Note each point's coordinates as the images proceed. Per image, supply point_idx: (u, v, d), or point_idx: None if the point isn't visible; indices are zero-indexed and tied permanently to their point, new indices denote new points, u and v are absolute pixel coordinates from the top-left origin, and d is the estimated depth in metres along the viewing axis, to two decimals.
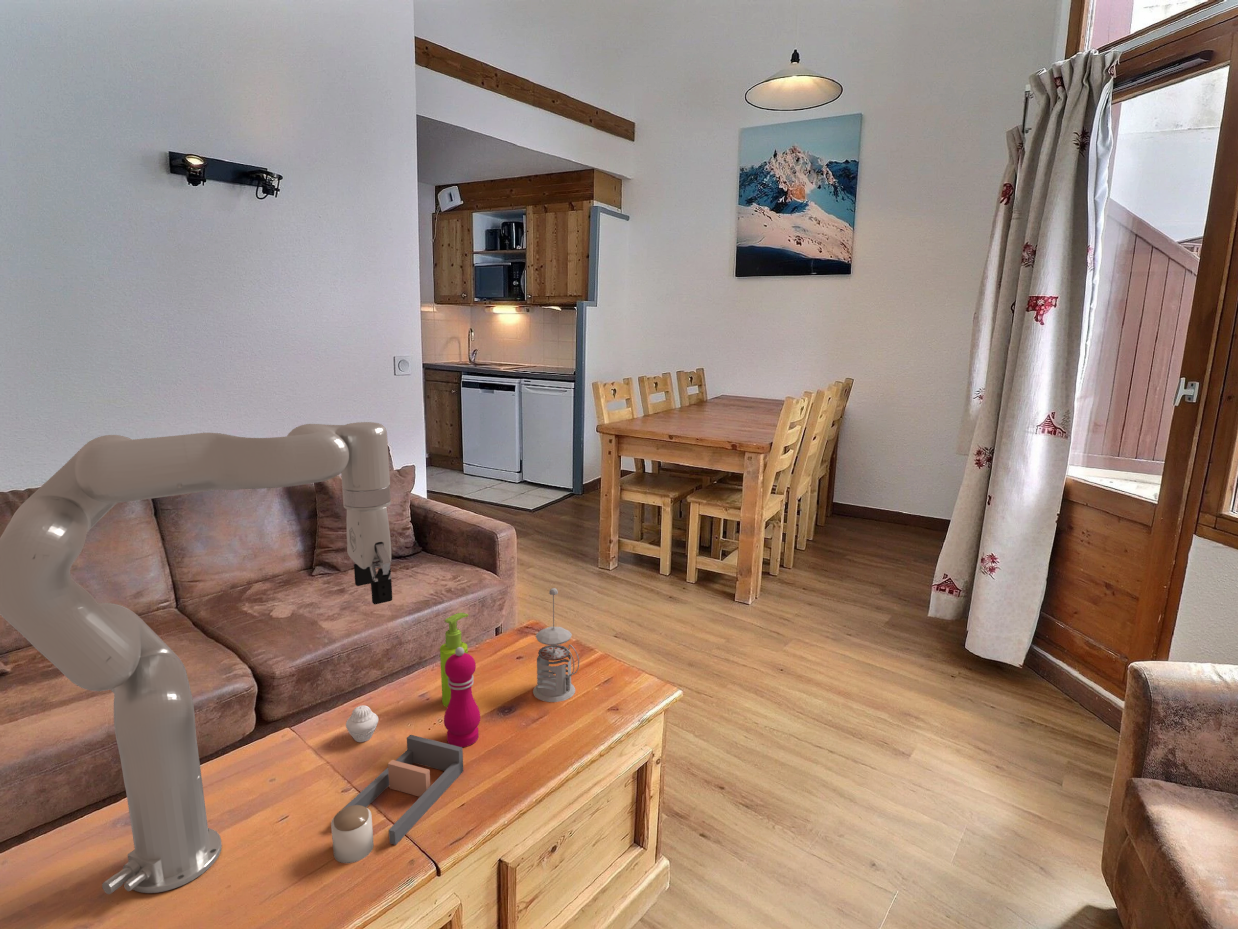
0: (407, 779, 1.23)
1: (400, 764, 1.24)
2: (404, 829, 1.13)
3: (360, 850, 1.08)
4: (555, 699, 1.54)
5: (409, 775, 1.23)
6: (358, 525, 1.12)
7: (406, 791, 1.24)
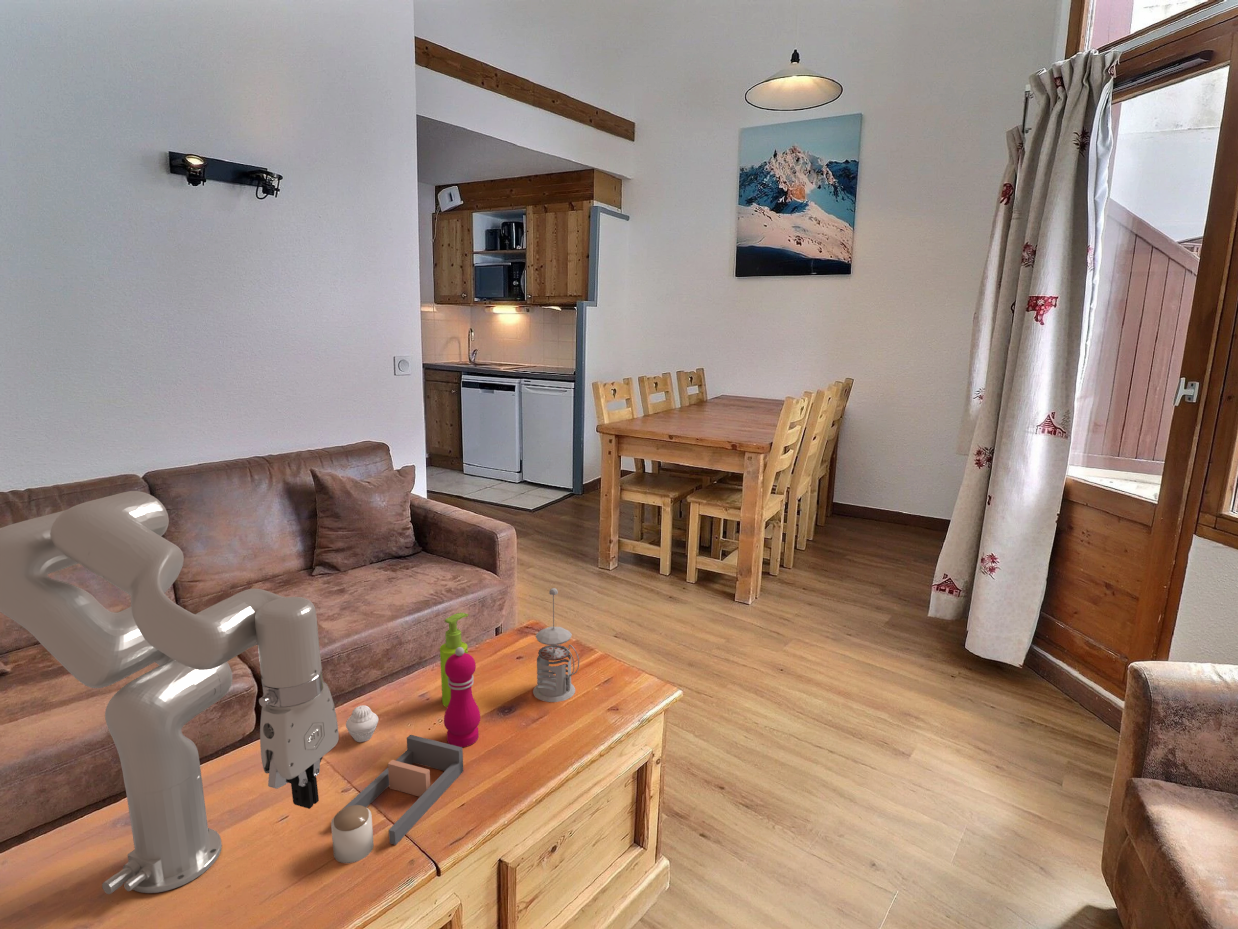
0: (407, 779, 1.23)
1: (400, 764, 1.24)
2: (404, 829, 1.13)
3: (360, 850, 1.08)
4: (555, 699, 1.54)
5: (409, 775, 1.23)
6: (328, 702, 0.98)
7: (406, 791, 1.24)
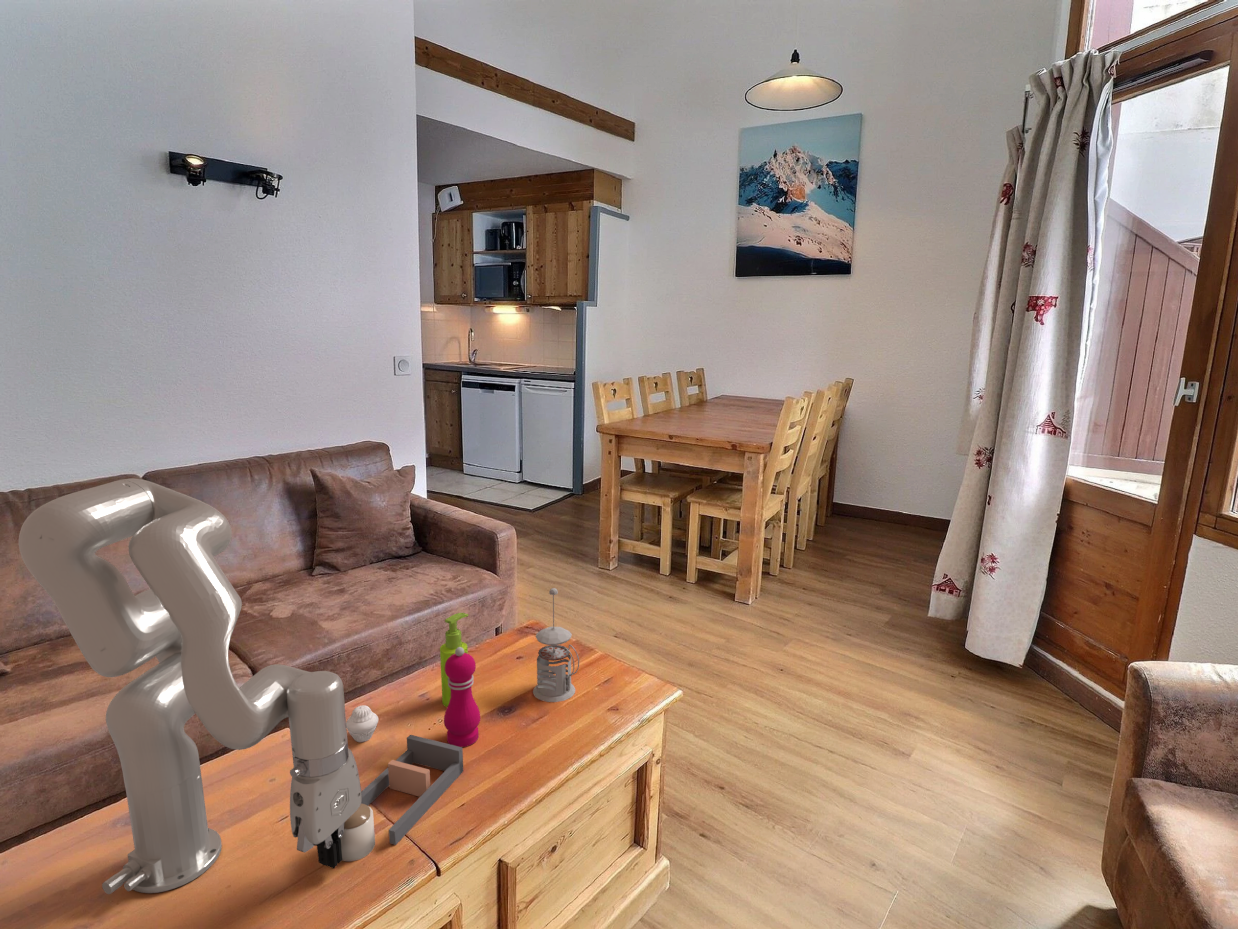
0: (407, 779, 1.23)
1: (400, 764, 1.24)
2: (404, 829, 1.13)
3: (362, 848, 1.08)
4: (555, 699, 1.54)
5: (409, 775, 1.23)
6: (352, 768, 1.05)
7: (406, 791, 1.24)
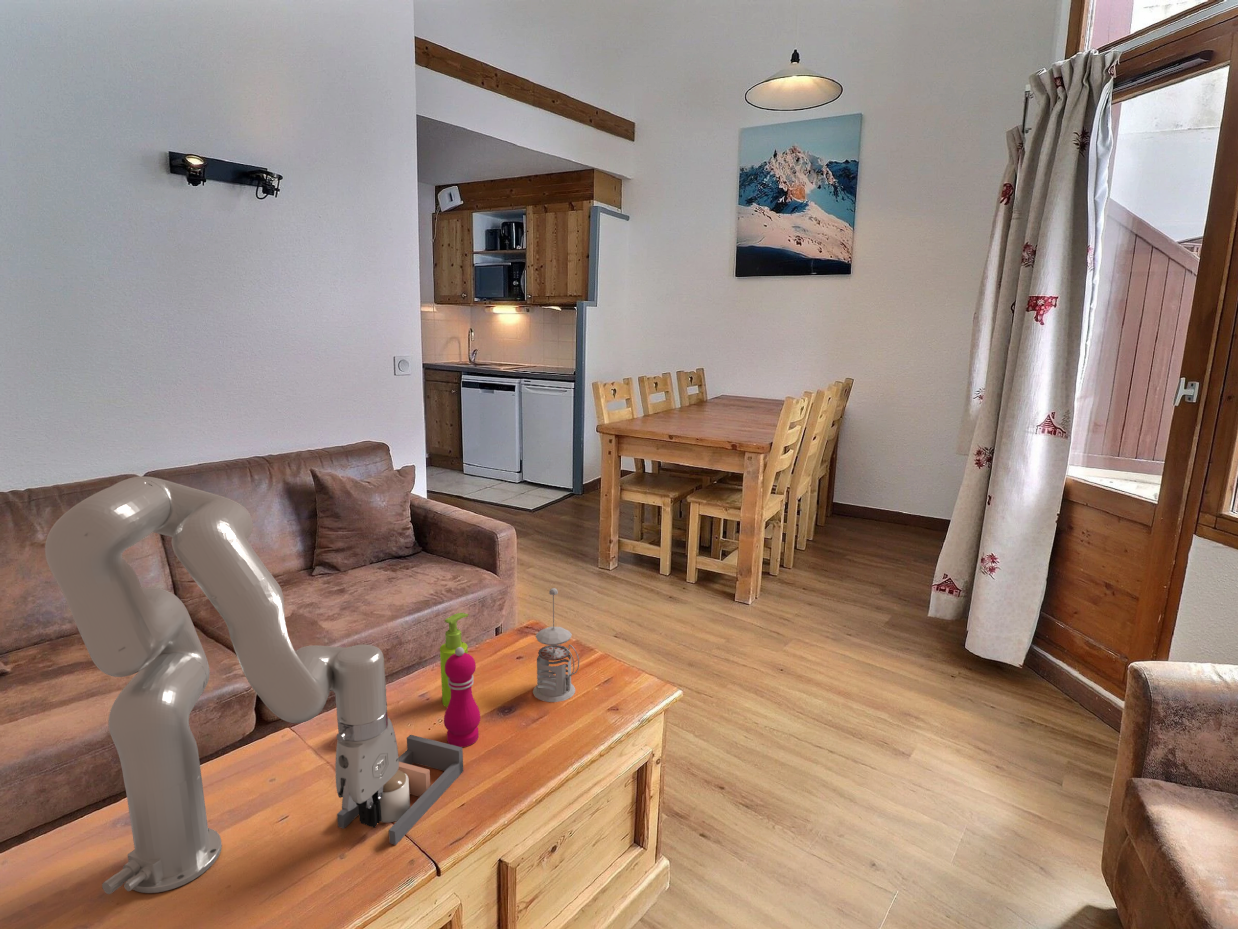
0: None
1: (400, 764, 1.24)
2: (404, 829, 1.13)
3: (399, 810, 1.17)
4: (555, 699, 1.54)
5: (409, 775, 1.23)
6: (391, 735, 1.13)
7: None
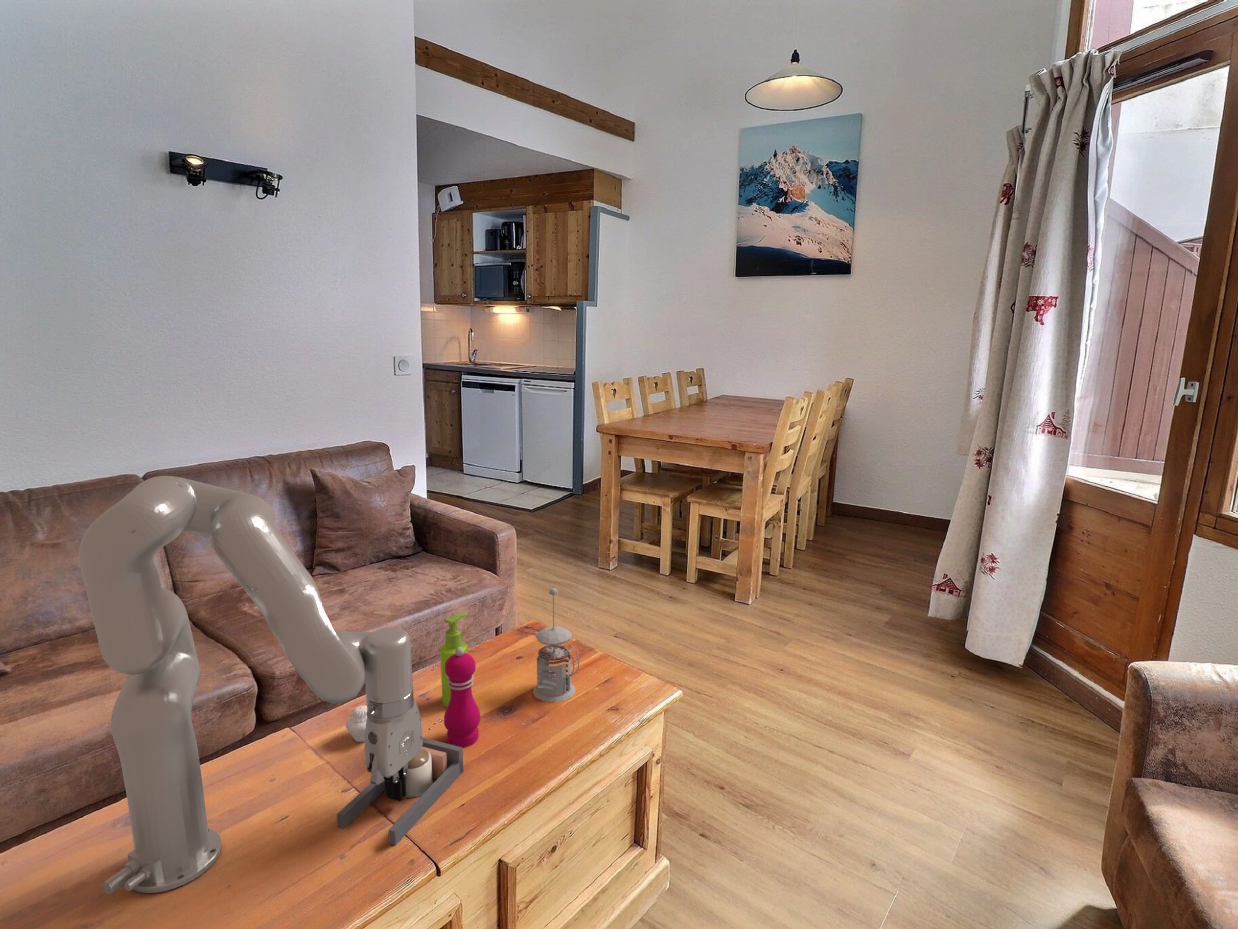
0: None
1: None
2: (404, 829, 1.13)
3: (422, 786, 1.23)
4: (555, 699, 1.54)
5: None
6: (416, 714, 1.19)
7: None
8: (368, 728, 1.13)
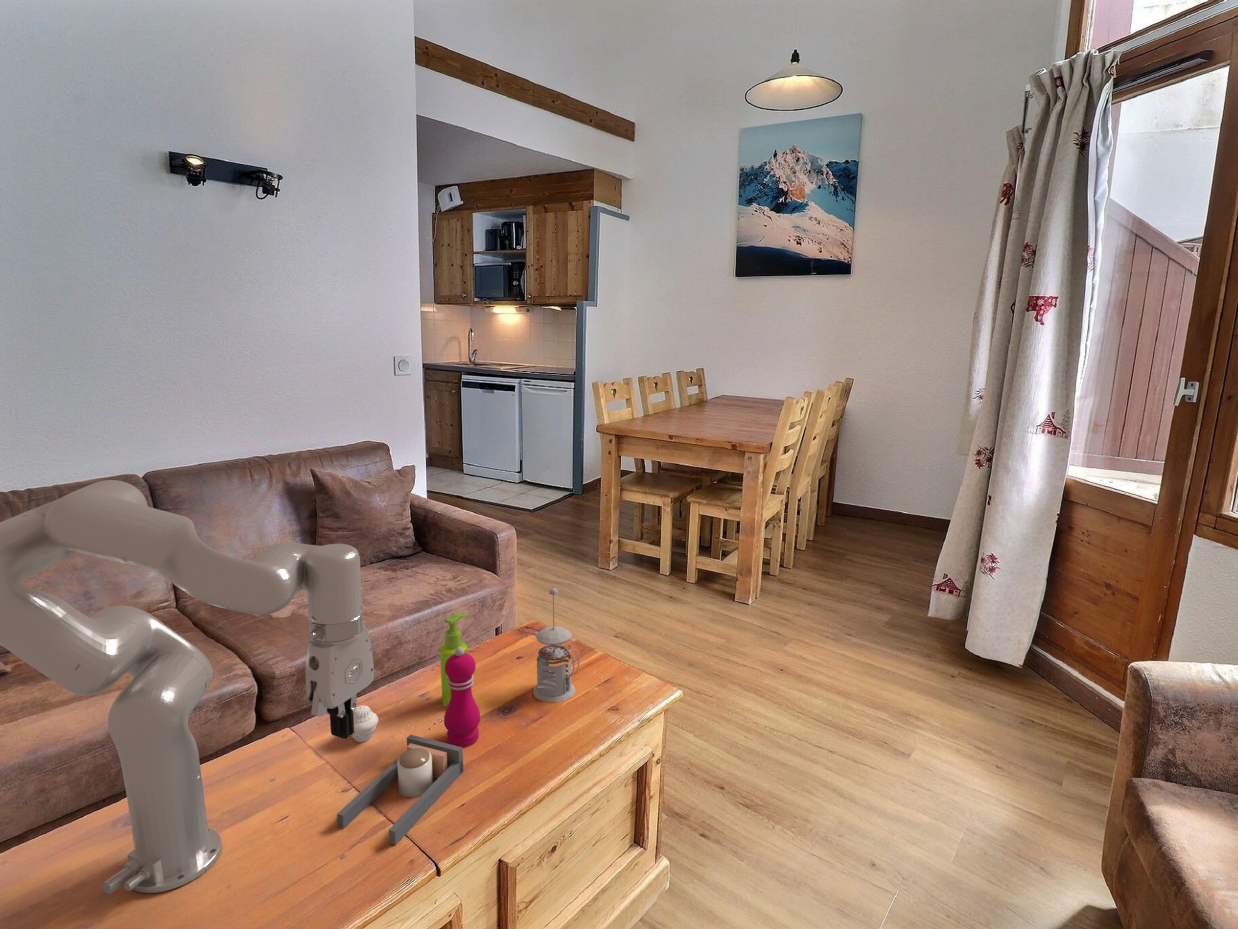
0: None
1: (418, 747, 1.29)
2: (404, 829, 1.13)
3: (423, 785, 1.23)
4: (555, 699, 1.54)
5: None
6: (366, 642, 1.08)
7: None
8: (309, 652, 1.01)
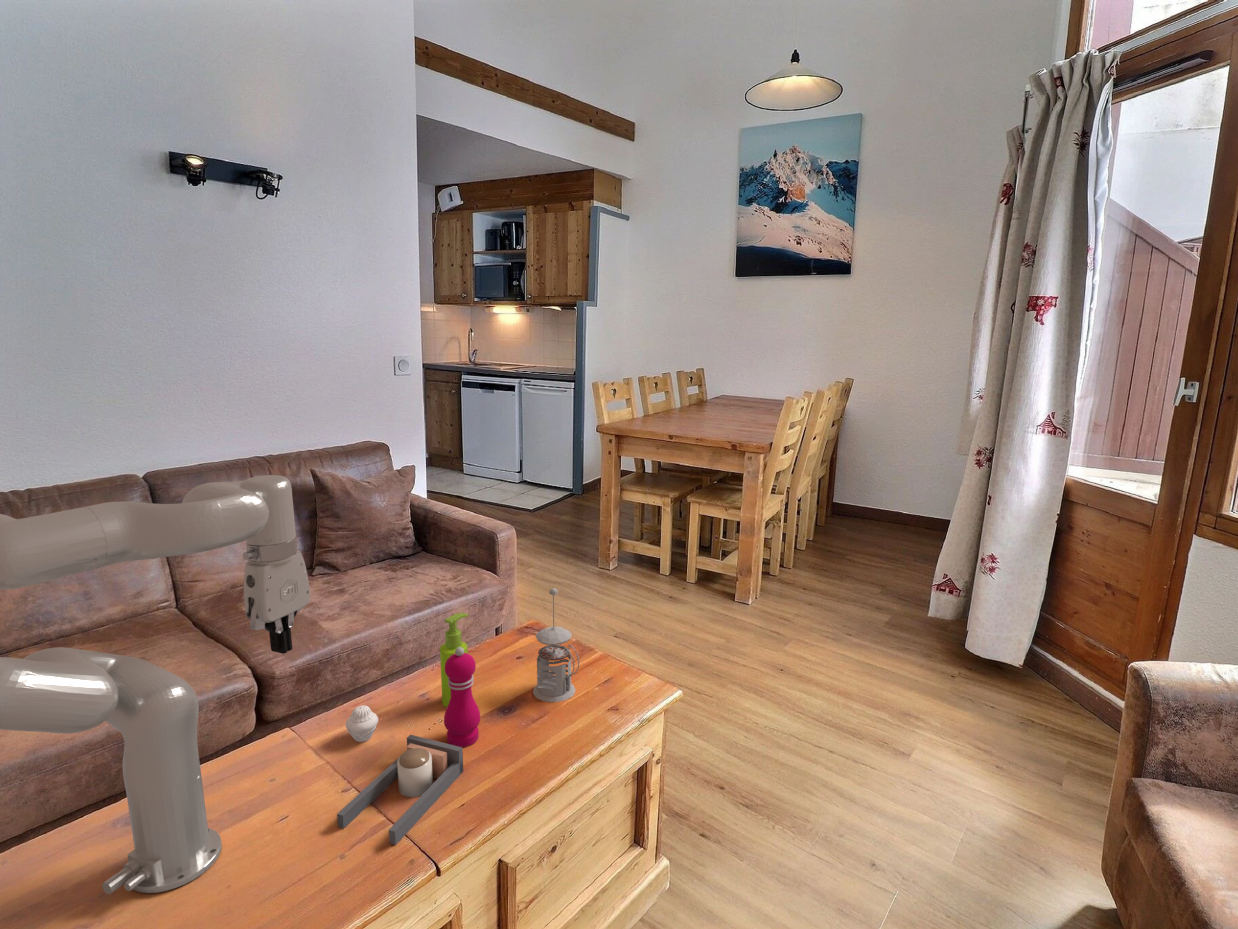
0: None
1: (418, 747, 1.29)
2: (404, 829, 1.13)
3: (423, 785, 1.23)
4: (555, 699, 1.54)
5: None
6: (301, 566, 1.18)
7: None
8: (246, 572, 1.12)
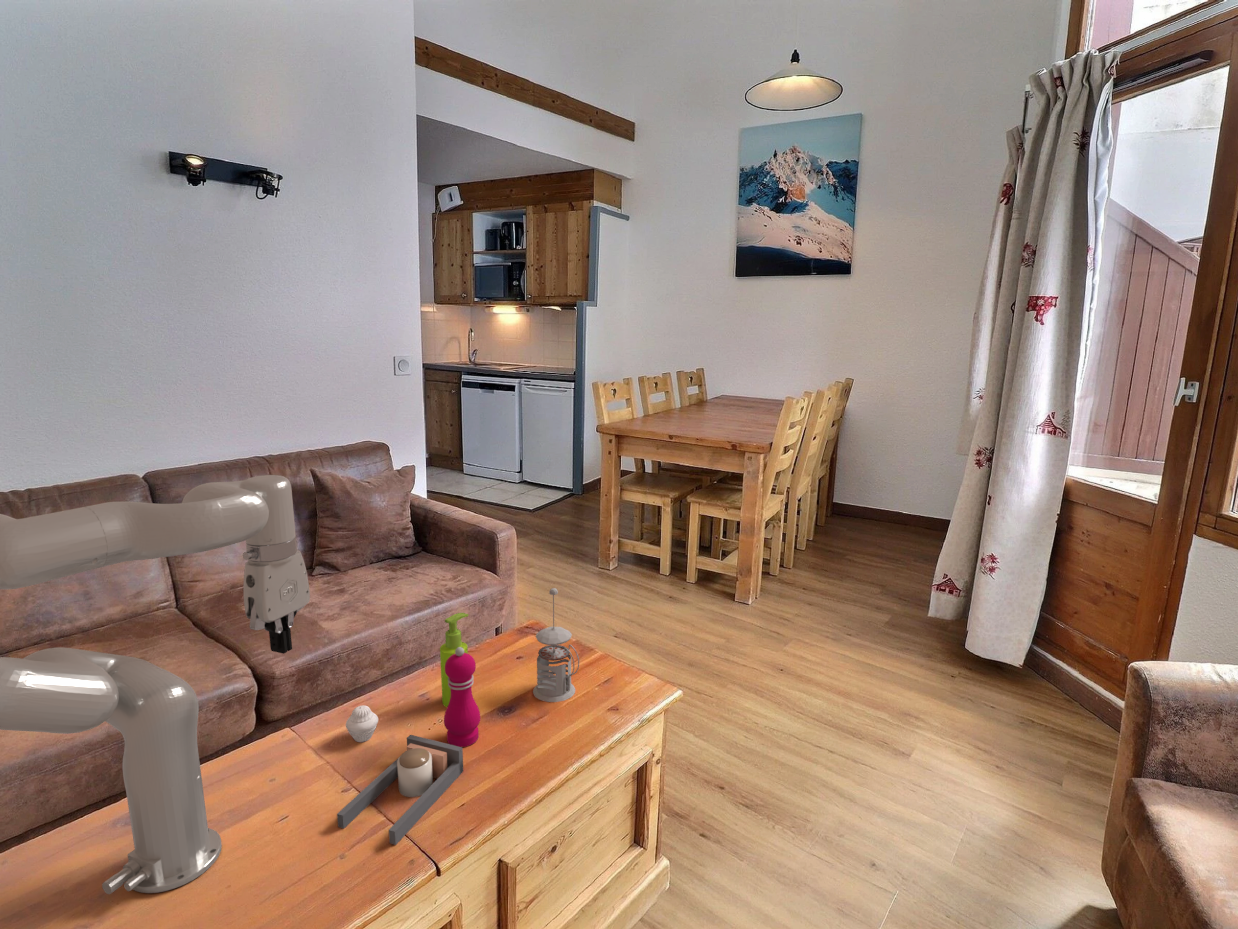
0: None
1: (418, 747, 1.29)
2: (404, 829, 1.13)
3: (423, 785, 1.23)
4: (555, 699, 1.54)
5: None
6: (301, 566, 1.18)
7: None
8: (246, 572, 1.12)
